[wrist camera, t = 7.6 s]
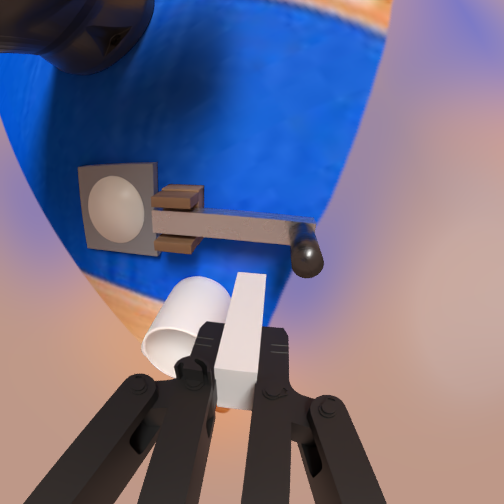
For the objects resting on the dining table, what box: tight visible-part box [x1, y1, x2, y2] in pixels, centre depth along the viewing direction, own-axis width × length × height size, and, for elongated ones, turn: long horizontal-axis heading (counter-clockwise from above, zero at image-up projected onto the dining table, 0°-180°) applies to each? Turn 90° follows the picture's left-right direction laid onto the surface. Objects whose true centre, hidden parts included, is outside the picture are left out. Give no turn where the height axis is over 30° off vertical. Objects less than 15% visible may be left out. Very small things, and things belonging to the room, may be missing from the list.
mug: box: [141, 276, 231, 378], centre depth 31 cm, size 12×8×10 cm
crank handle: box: [151, 207, 324, 278], centre depth 24 cm, size 2×16×8 cm, turn 86°
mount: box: [151, 184, 204, 254], centre depth 28 cm, size 6×4×5 cm, turn 176°
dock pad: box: [78, 162, 161, 256], centre depth 30 cm, size 11×11×1 cm
